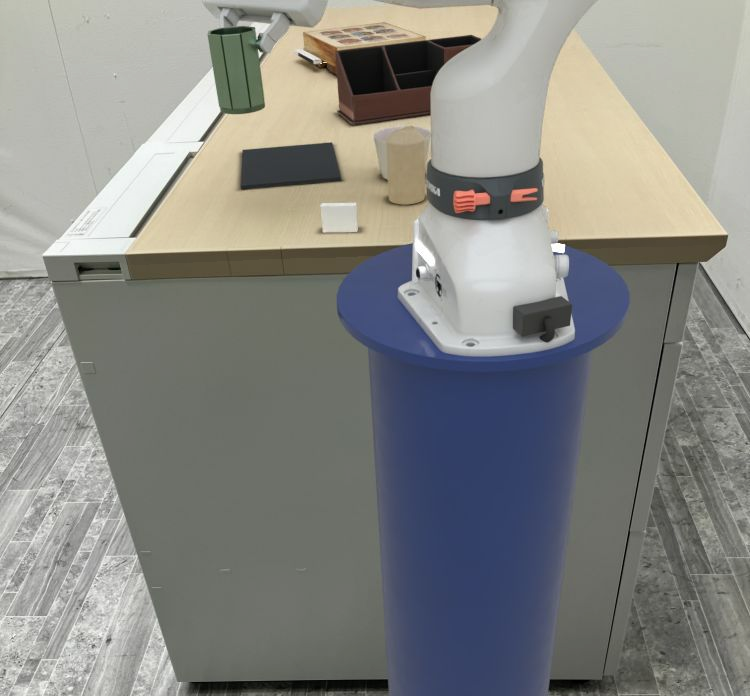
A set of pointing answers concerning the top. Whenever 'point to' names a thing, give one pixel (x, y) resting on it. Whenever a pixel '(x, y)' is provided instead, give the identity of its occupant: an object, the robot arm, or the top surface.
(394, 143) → the candle
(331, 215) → the eraser
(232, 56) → the bucket
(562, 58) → the top surface
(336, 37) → the wooden box
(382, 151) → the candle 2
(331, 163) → the mat
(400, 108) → the desk organizer
